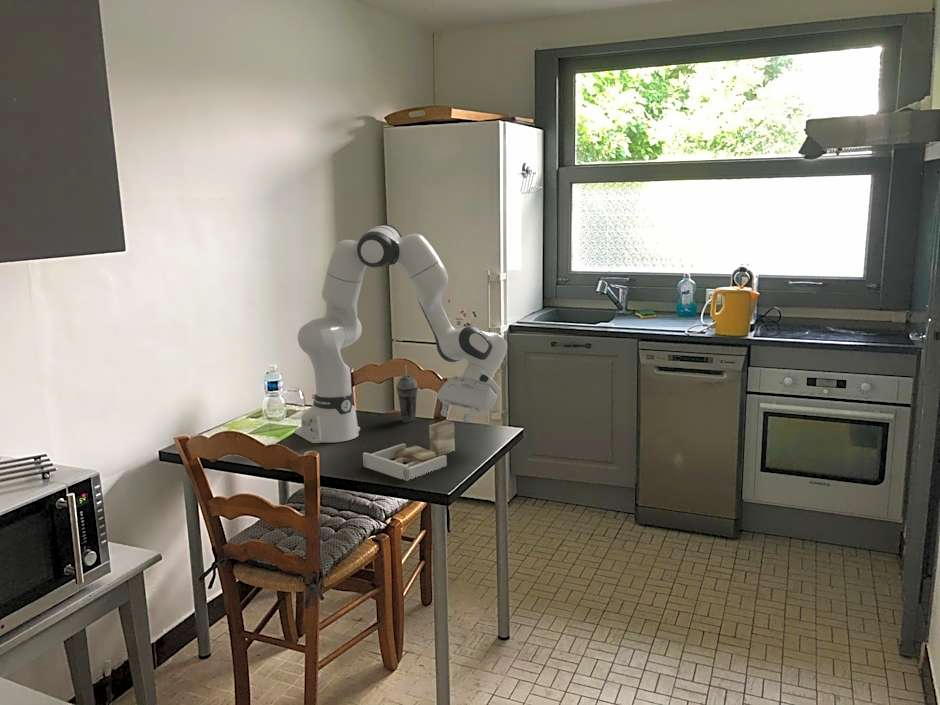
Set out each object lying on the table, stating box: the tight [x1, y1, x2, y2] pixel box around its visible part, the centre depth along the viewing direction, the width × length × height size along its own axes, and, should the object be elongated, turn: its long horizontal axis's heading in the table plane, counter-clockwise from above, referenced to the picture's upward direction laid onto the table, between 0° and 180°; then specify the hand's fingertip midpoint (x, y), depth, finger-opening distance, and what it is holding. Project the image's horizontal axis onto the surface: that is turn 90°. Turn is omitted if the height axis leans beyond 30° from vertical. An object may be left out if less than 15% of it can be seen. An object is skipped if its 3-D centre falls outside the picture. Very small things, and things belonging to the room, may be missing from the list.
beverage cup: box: [396, 363, 419, 423], centre depth 266 cm, size 7×7×20 cm
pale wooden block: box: [428, 419, 456, 457], centre depth 233 cm, size 4×7×9 cm, turn 138°
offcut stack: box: [394, 445, 437, 465], centre depth 226 cm, size 14×6×4 cm, turn 47°
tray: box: [362, 443, 448, 482], centre depth 222 cm, size 18×16×4 cm
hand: (454, 418), depth 235 cm, fingers open, 8 cm apart
